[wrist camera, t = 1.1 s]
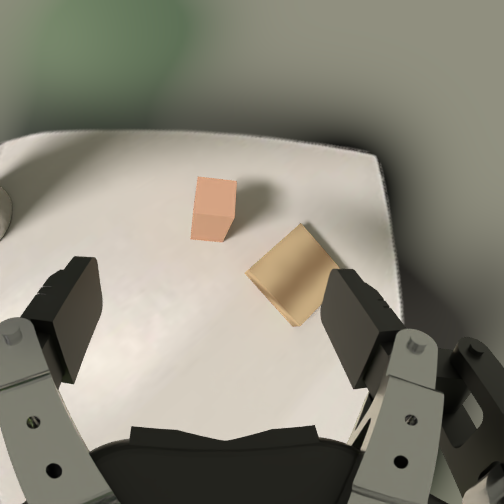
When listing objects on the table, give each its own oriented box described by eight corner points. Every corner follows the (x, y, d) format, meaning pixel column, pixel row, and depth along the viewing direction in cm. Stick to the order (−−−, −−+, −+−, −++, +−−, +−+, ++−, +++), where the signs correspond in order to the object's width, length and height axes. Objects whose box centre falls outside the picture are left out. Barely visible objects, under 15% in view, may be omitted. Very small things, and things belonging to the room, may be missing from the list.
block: (190, 239, 39) (193, 213, 30) (193, 209, 40) (197, 176, 31) (222, 242, 40) (234, 217, 31) (224, 212, 41) (236, 181, 32)
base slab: (244, 273, 40) (249, 269, 37) (292, 230, 42) (300, 223, 40) (291, 326, 39) (300, 326, 36) (336, 280, 42) (346, 276, 39)
